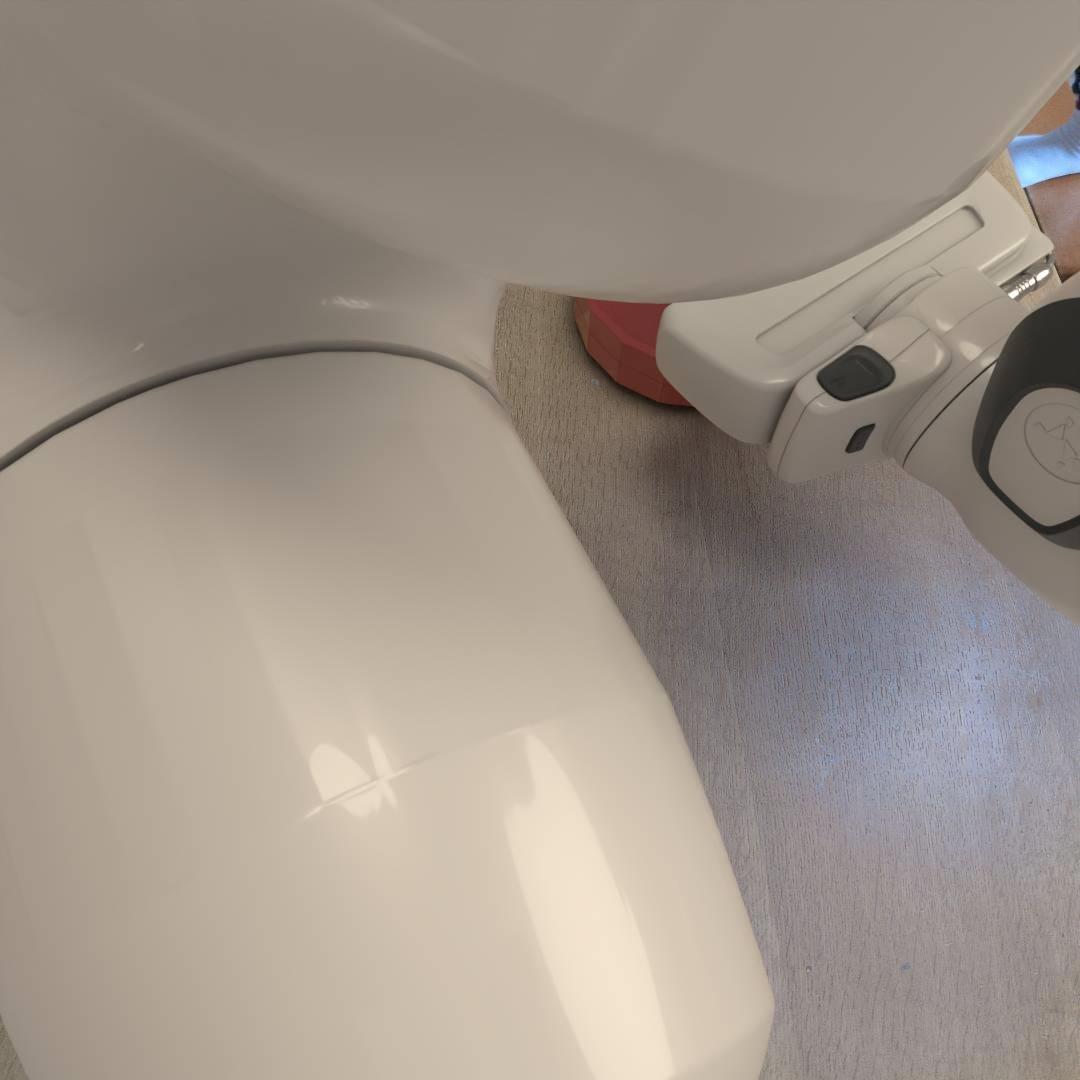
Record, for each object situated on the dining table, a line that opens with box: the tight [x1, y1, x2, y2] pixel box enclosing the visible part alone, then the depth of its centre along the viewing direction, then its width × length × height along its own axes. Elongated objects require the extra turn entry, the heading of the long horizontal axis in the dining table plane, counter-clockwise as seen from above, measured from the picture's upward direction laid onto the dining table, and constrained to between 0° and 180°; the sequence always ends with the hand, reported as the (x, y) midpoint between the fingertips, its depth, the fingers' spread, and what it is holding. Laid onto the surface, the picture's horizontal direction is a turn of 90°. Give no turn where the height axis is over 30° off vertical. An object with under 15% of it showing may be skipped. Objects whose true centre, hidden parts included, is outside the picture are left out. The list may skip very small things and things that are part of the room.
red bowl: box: [573, 297, 695, 408], centre depth 62 cm, size 14×14×4 cm
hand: (739, 188), depth 54 cm, fingers closed on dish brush, 2 cm apart
